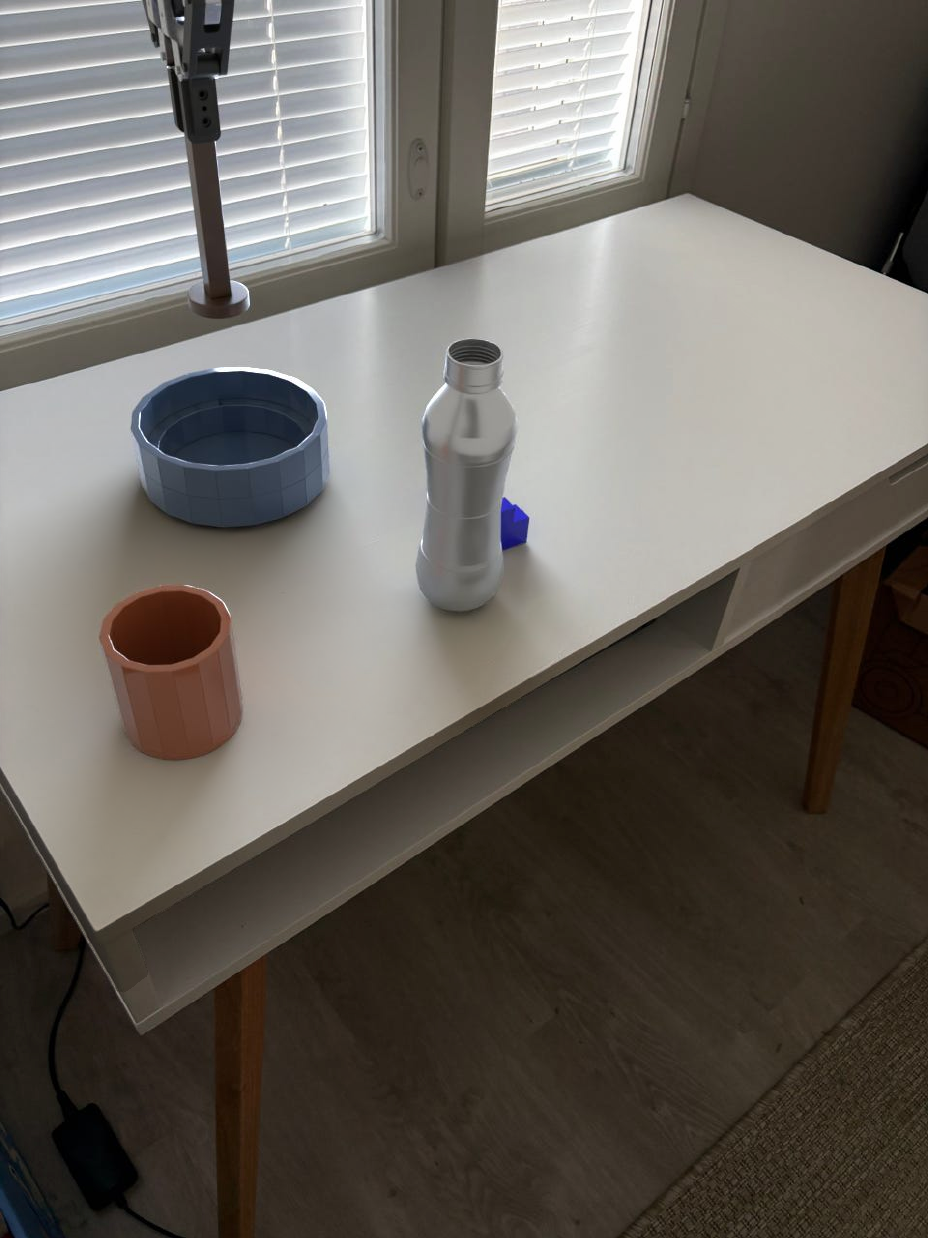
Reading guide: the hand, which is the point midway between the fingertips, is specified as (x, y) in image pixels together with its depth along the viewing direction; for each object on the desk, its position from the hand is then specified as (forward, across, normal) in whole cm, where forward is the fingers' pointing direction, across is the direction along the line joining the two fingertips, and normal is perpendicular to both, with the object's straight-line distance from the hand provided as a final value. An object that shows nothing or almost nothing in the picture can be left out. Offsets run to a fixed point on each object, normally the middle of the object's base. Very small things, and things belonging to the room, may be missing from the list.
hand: (198, 134), depth 66 cm
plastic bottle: (+28, +20, +10) cm, 36 cm away
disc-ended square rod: (+12, 0, 0) cm, 12 cm away
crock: (+28, +24, -12) cm, 38 cm away
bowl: (+28, 0, 0) cm, 28 cm away
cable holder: (+28, +14, +16) cm, 35 cm away
